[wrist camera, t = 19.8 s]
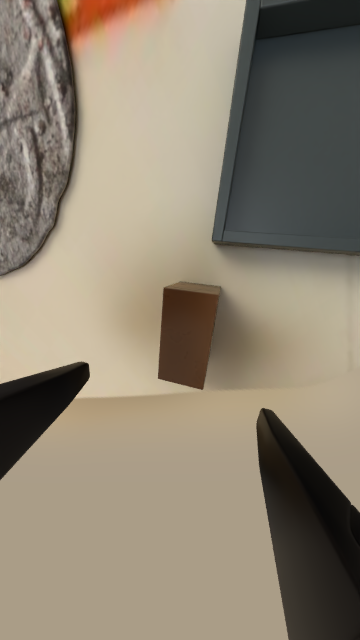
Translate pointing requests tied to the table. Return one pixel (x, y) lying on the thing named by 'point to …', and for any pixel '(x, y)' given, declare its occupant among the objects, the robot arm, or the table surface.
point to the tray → (294, 130)
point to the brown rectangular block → (187, 332)
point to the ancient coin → (32, 125)
